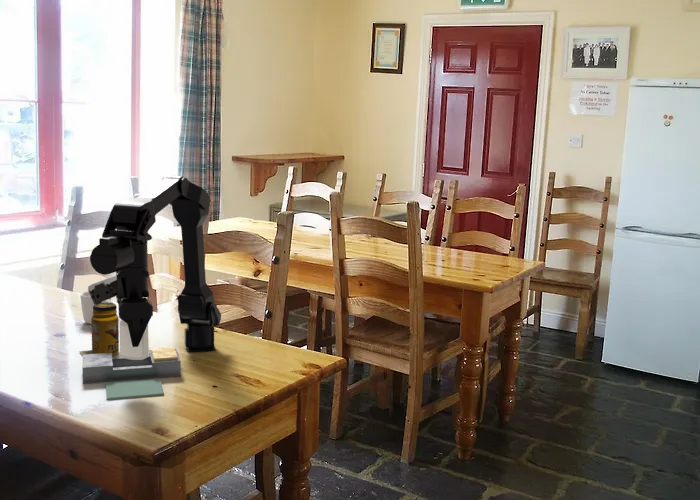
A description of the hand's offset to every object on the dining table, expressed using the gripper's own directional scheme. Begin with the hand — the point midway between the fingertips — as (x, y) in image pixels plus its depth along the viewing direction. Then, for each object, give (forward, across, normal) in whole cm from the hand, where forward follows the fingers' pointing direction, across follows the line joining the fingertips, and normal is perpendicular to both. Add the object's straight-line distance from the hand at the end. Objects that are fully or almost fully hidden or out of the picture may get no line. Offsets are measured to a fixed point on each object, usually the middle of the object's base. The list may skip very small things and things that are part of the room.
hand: (134, 340), depth 148 cm
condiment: (+11, -25, -6) cm, 28 cm away
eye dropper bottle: (+4, 0, 0) cm, 4 cm away
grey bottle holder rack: (+10, -10, 0) cm, 15 cm away
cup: (+11, -53, -6) cm, 55 cm away
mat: (+10, 0, 0) cm, 11 cm away
